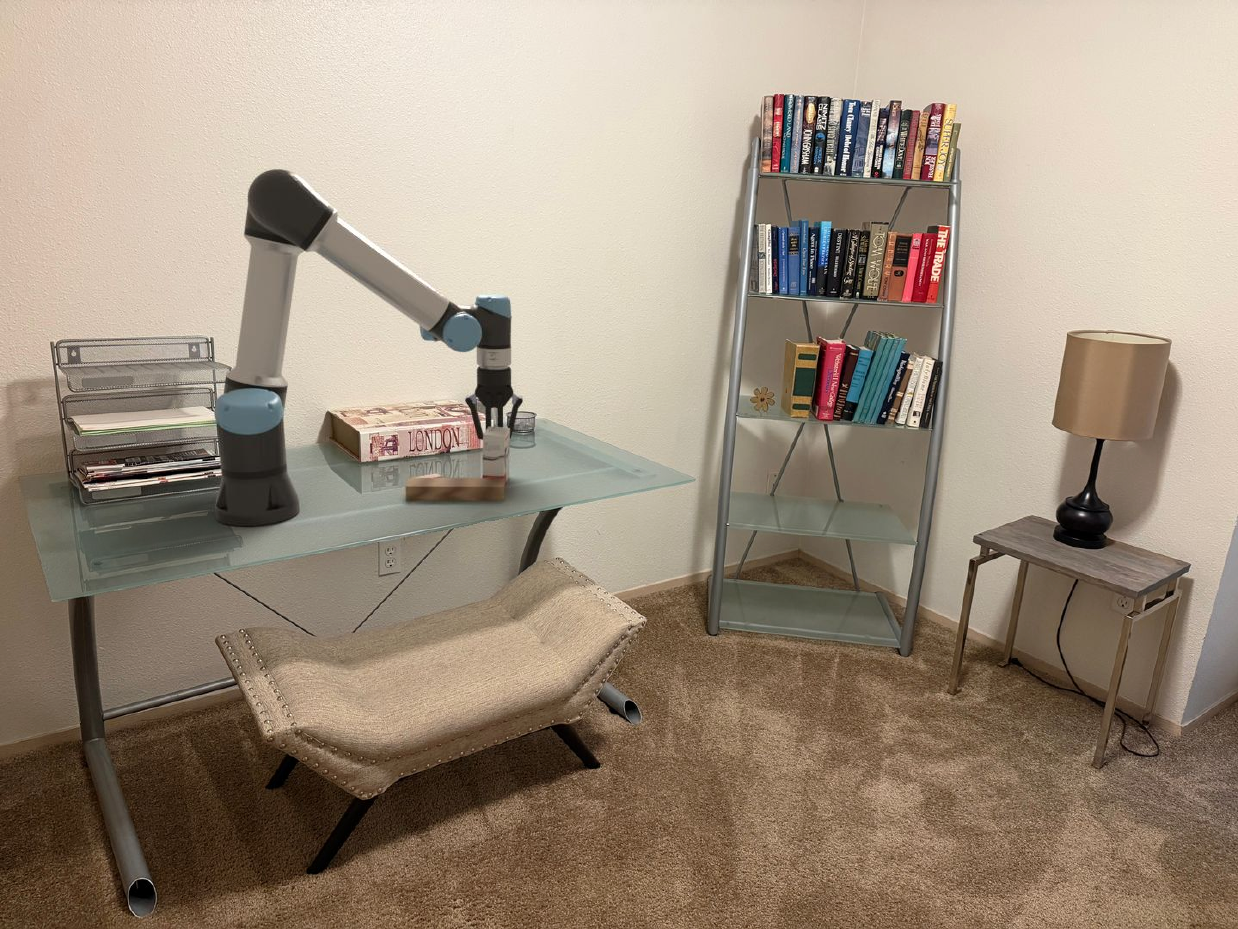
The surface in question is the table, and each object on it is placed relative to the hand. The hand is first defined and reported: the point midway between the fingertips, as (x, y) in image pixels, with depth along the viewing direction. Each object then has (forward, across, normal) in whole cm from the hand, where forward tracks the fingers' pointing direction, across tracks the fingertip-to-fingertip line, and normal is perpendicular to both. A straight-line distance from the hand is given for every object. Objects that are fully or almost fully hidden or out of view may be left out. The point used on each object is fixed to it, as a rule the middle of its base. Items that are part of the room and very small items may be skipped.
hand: (494, 468), depth 197 cm
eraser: (+2, -14, -7) cm, 16 cm away
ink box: (+2, 0, -6) cm, 6 cm away
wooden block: (+1, -8, -15) cm, 17 cm away
